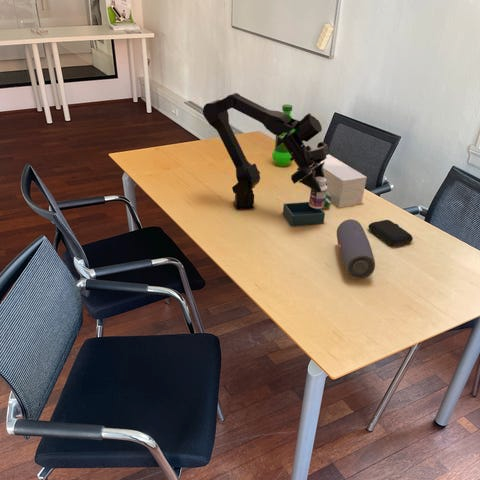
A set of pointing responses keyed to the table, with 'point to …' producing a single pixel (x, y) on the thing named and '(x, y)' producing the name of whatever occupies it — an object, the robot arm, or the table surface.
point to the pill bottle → (318, 194)
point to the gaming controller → (327, 200)
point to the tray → (302, 214)
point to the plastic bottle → (280, 152)
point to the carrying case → (390, 232)
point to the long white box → (343, 182)
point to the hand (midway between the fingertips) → (323, 188)
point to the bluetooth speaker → (355, 249)
